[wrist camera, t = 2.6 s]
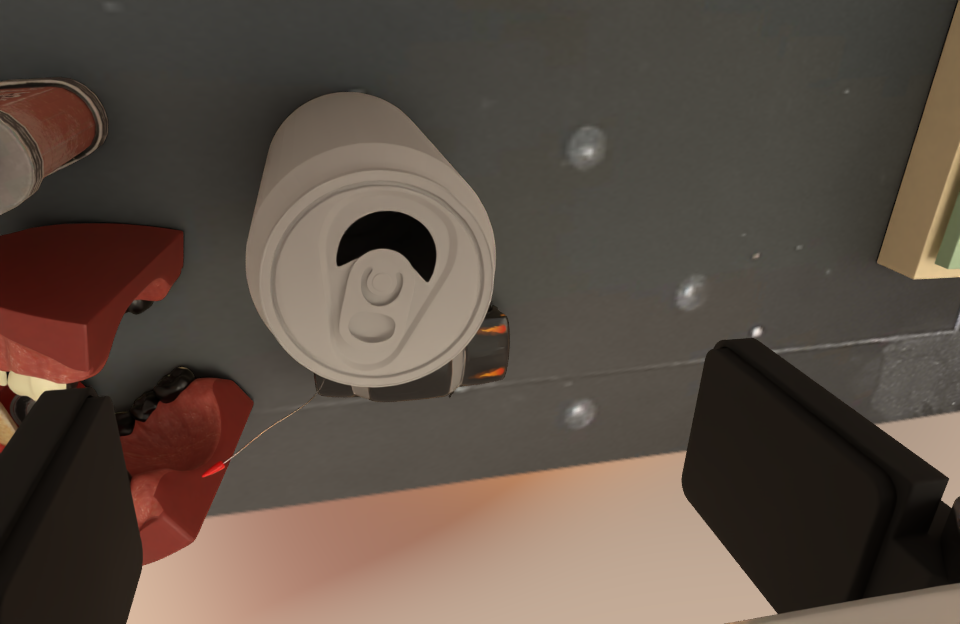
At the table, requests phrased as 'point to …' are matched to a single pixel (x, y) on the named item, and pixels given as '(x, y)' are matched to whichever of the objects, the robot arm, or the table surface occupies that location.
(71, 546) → the robot arm
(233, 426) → the teeth
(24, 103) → the lighter
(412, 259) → the beverage can
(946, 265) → the pan
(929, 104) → the scale
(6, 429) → the toy food set
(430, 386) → the toy car
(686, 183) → the table surface
